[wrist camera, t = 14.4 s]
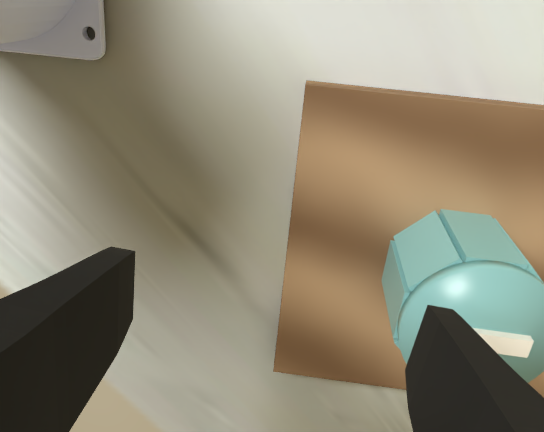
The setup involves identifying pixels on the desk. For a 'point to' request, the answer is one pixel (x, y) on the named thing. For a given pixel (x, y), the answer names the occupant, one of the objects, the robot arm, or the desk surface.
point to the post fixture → (392, 211)
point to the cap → (467, 285)
